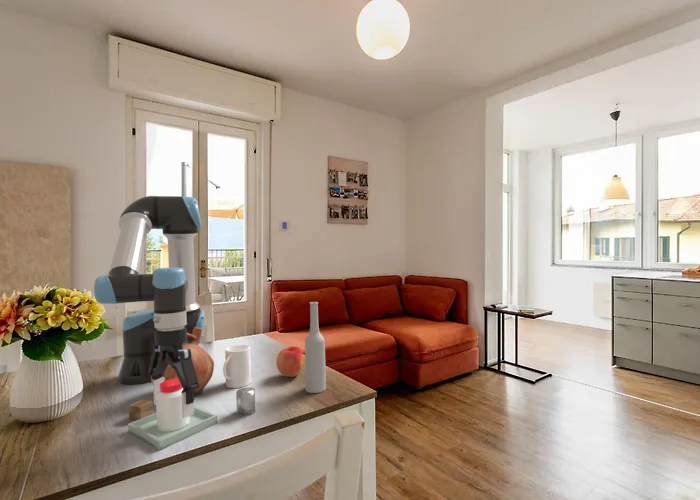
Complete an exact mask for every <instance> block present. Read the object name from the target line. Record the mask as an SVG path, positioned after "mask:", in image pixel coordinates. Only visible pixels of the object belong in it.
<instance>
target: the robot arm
mask: <svg viewBox="0 0 700 500" xmlns="http://www.w3.org/2000/svg"><path fill="white" fill-rule="evenodd" d="M199 207H200V206H199V203H198V200H197V199H196V198H195V197H192V196H185V195H182V196H175V195H173V196H167V195H166V196H165V195H164V196H163V195H147V196H143V197H141V198H138V199H136V200H135V201H133V202H132V203H130V204H129V205H128V206H127V207H126V208H125V209H124V210H123V211H122V213H121V215H120V217H119V220H118V226H119V229H120V230H119V234H118V237H117V241H116V245H115V249H114V251H113V252H114V253H113V256H112V260H111V263H110V267H109V270H108V275H107V274H105V275H99V276H97V278H96V279H95V281H94V285H93V292H94V293H93V294H94V298H95V300H96V302H97V303H98V304H100V305H101V304H102V305H103V304H104V305H106V304H109V305H110V304H112V305H113V304H115V305H117V304H127V303H128V304H129V303H137V302H139V303H140V302H153V309H148V310H143V311H137V312H135V313H131V314H128V315H127V316H125V317H124V318H123V320H122V330H121V331H122V341H123V342H122V343H123V344H122V345H123V359H122V363H121V366H120V368H119V369H120V370H119V372H118V382H119V383H120V382H121V384H124V383H125V384H126V385H134V384H135V385H137V384H144V383H147V382H148V383H149V382H152V380H151V378H152V379H153V384H152V386H153V387H152V388H153V389H152V390H153V405H154V406H156V397H155V396H156V394H157V393H158V391H159V390H160V384H161V383H162V382H164V381H165V378H164V377H162V376H165V374H164V372H165V370H166V368H167V366H168V364H169V365H171V367H172V368H173V369H175V371H176V374H177V376H178V378H179V381H180V383H181V385H182V388H183V390H182V391H181V395H182V418H186V417H188V416H191V415H193V414H194V406H195V396H194V389H197V388H199V382H198V379H197V375H196V372H195V368H194V365H193V361H192V358H191V350H190V349H186V350H183V346H182V344H184V343H188V342H189V339H188V338H187V333H189V334H191V335H192V332H193V329H194V327H195V328H201V329H202V332H201V335H200V339H199V341H201V340H202V336H203V328H204V319H205V310H203V309H201V305H200V304H199V303H198V302H196V279H195V276H196V275H195V273H196V272H195V271H196V270H195V250H194V249H195V245H194V243H195V242H194V239H195V237H196V236H198V234H199V230H201V229H203V228H202V226H203V225H202V219H201V214H200V210H199V209H200V208H199ZM152 230H162V235H163V236H164V237H165V238H166V239H167V252H168V253H167V254H168V256H167V257H168V267H160V268H156V269H154V270H153V272H152V273H141V271H142V270H141V269H142V266H143V265H142V264H143V258H144V253H145V248H146V243H147V242H146V241H147V237H148V234H149V233H150V232H151V231H152ZM153 369H155V370H153ZM161 377H162V378H161ZM125 384H124V385H125Z"/></svg>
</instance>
